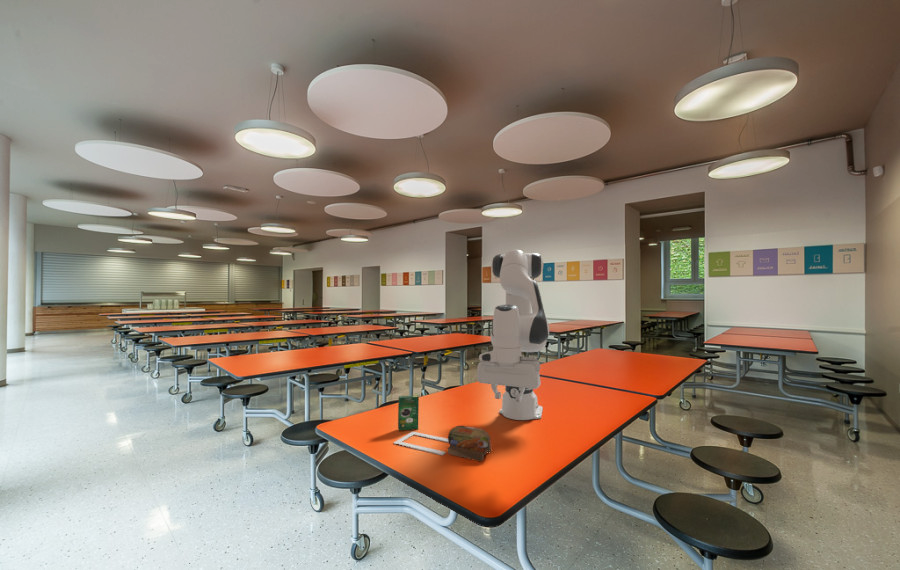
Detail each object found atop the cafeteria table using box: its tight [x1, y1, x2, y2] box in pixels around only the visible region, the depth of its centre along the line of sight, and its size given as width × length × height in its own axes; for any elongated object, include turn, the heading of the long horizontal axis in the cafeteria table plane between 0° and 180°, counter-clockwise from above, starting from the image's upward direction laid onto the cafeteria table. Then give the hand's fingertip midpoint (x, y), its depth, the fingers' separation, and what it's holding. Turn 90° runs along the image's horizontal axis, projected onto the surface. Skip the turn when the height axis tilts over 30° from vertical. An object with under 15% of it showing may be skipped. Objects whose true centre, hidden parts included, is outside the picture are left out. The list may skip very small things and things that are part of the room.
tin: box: [447, 425, 492, 457], centre depth 115 cm, size 15×3×8 cm, turn 62°
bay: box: [393, 431, 449, 456], centre depth 124 cm, size 12×20×1 cm, turn 61°
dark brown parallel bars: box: [447, 445, 492, 462], centre depth 115 cm, size 8×12×2 cm
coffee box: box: [397, 394, 420, 431], centre depth 138 cm, size 8×3×13 cm, turn 104°
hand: (508, 399), depth 109 cm, fingers open, 5 cm apart
